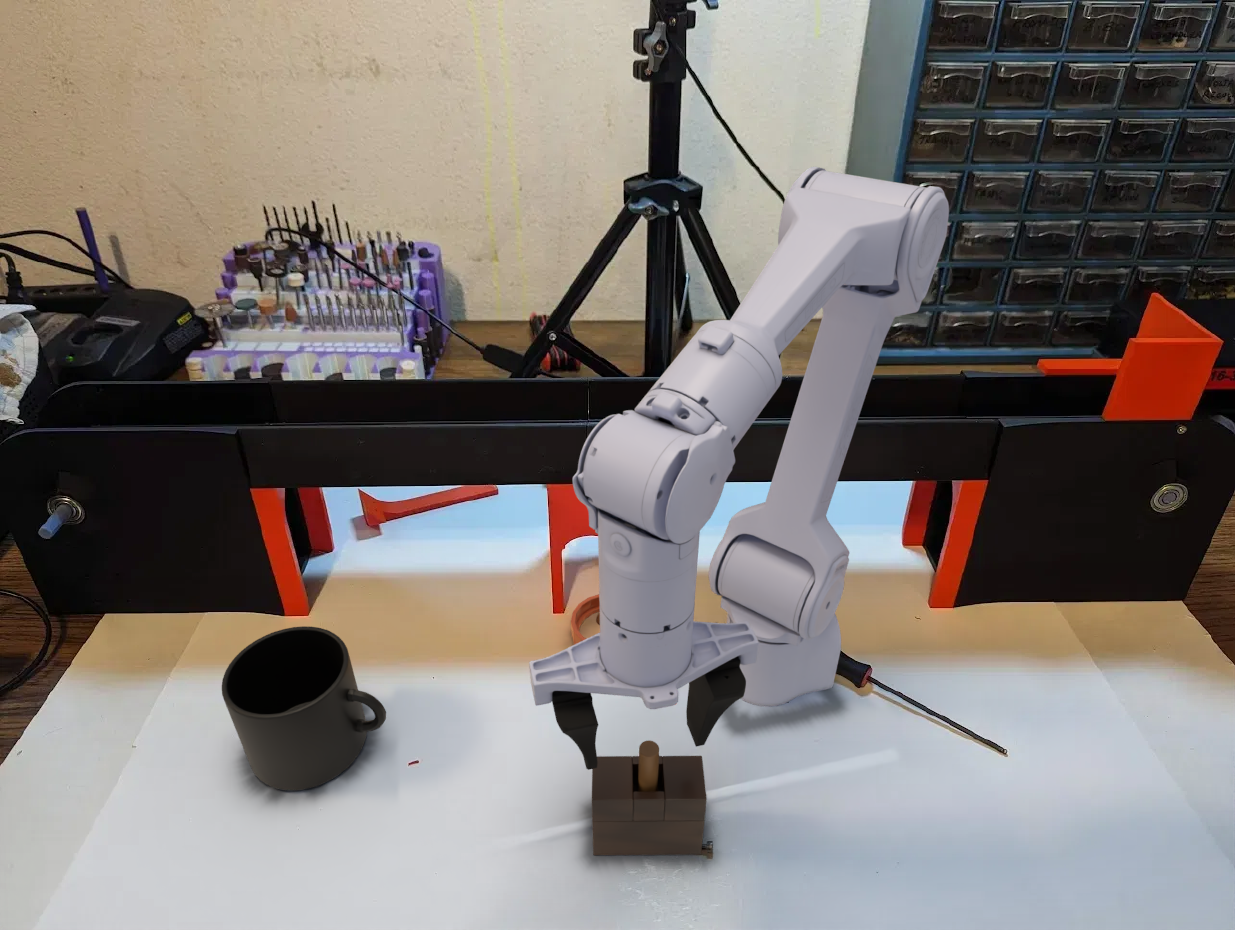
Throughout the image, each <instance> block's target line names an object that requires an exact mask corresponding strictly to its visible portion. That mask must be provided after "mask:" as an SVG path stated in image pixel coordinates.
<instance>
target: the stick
mask: <svg viewBox="0 0 1235 930" xmlns="http://www.w3.org/2000/svg"><path fill="white" fill-rule="evenodd" d="M638 756H639V773H638V792H641V791H657V790H658V767H659V756H660V746H659V744H658V743H656V741H654V740H649V739H648V740H644V741H642V742H641V743H640V744H639V746H638Z"/></svg>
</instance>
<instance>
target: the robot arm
mask: <svg viewBox="0 0 1235 930" xmlns="http://www.w3.org/2000/svg"><path fill="white" fill-rule="evenodd" d="M949 215H950V205H949V201H948V199H947V196H946V193H945V191H944V190H943V188H942V187H940V186H933V185H932V186H931V185H929V186H927V187H925V186H920V185H915V184H914V185H913V184H907V183H902V182H895V181H892V180H891V181H890V180H885V179H879V178H872V177H867V176H859V175H855V174H854V175H853V174H847V173H842V172H836V171H831V170H826V169H825V168H823V167H819V166H810V167H808V168H806V169H805V170H804V171H803V172H802V173H800V175H799V176H798V177H797V178H796V179H795V180H794V182H793V183H792V184H791V186H790V188H789V190H788V192H787V194H786V196H785V198H784V202H783V205H782V209H781V214H780V220H779V226H778V234H777V235H778V236H777V246H776V248H775V250H774V251H773V253H772V254H771V255H770V257H769V258H768V261H767V262H766V264H765V265H764V267H763V268H762V269H761V271H760V273H759V274H758V276H757V277H756V279H755V281H754V282H753V283H752V285H751V287H750V289H749V290H748V291H747V293H746V295H744V297H743V299H742V301H741V302H740V304H739V305H738V307H737V308H736V310H735V311H734V313H733V315H732V316H731V318H730V319H714V320H711V321H707V322H706V323H704V324H703V325H701V326H700V328H699V329H698V330H697V331H696V332H695V334H694V335H693V336H692V337H691V339H690V340H689V341H688V342H687V343H686V345H685V346H684V347H683V348H682V349H681V351H680V352H679V353H678V355H677V356H676V357H675V358H674V360H673V361H672V362H671V363H670V365H669V366H668V367H667V368H666V369H665V370H664V372H662V374H661V376H660V377H659V378H658V379H657V380H656V382H655V383H654V384H653V385H652V387H651V388H650V389H649V390H648V391H647V393H646V394H645V395H644V397H643V398H642V399H641V401H639V402H638V404H637V405H636V406H635V407H634V410H633V409H628V410H623V411H622V414H621V413H616V414H610V415H608V416H605V418H603V419H601V420H599V422H598V423H597V424H596V425H595V426H594V427H593V429H592V430H591V431H590V433H589V434H588V436H587V438H586V439H585V442H584V443H583V446H582V448H581V451H580V455H579V457H578V458H579V459H578V462H577V463H578V464H577V470H576V473H575V474H574V475H573V476H572V486H573V492H574V494H575V497H576V498H577V499H578V501H579V502H580V503H582V504H583V505H584V506H585V507H586V509H587V513H588V526H589V528H591V529H592V530H594V533H595V534H597V546H598V547H597V549H598V555H597V556H598V594H599V601H600V612H599V613H600V625H599V632H598V633H595V634H594V635H591V636H590V637H586V638H587V639H585V640H583V641H581V642H579V643H577V644H573V645H570V646H569V647H567V648H564V649H563V650H560V651H558V652H555V653H554V654H551V655H548V656H546V657H543V658H538V659H534V660H531V661H529V662H528V666H529V678H530V686H531V691H532V695H533V700H534V705H535V706H543V705H549V704H552V707H553V708H552V709H553V712H554V716H555V721H556V724H557V725H558V727H559V729H560V730H561V732H562V733H563V735H566V736H567V737H569V738H570V739H571V740H572V741H573V742H574V744H576V746H577V747H578V749H579V751H580V753H581V755H582V757H583V760H584V765H585V769H586V770H588V771H589V770H592V769H595V768H597V764H598V761H597V756H598V754H597V747H596V741H597V731H598V727H599V722H598V721H599V720H598V718H597V714H596V710H595V707H594V703H593V696H592V694H595V695H596V694H598V695H609V696H620V697H630V698H631V697H632V698H639V699H640V698H641V699H642V701H643V705H644V706H645V707H646V708H647V709H649V710H658V709H659V710H660V709H663V708H668V707H672V706H673V707H674V706H676V705H677V703H678V702H679V696H680V695H679V694H680V693H679V689H680V688H682V687H684V686H686V685H688V692H687V700H686V709H685V710H686V711H685V713H686V717H685V718H686V725H687V728H688V731H689V733H690V736H691V738H692V740H693V744H694V746H695V747H696V748H697V747H701V746H705V744H706V742H707V741H708V738H709V736H710V734H711V733H712V731H713V729H714V727H715V726H716V724H717V722H718V721H719V719H720V718H721V716H722V715H723V714H724V713H725V712H726V711H727V710H728V709H729V708H730V707H731V706H732V705H734V703H736V702H738V701H739V700H742V701H744V702H745V703H748V704H750V705H754V706H759V707H778V706H782V705H784V704H787V703H789V702H791V701H793V700H794V699H796V698H798V697H800V696H801V697H802V696H804V695H807V694H811V693H815V692H821V691H825V690H829V689H832V688H834V683H835V679H836V674H837V669H838V664H839V660H840V654H841V652H842V651H841V650H842V635H841V627H840V624H839V620H838V617H837V615H836V612H837V610H838V608H839V605H840V602H841V600H842V597H843V593H844V589H845V577H846V573H847V569H848V565H849V562H850V557H849V556H850V550H849V548H848V546H847V545H846V544H845V542H844V541H843V539H842V538H841V537H840V536H839V534H838V533H837V530H835V528H834V527H833V526H832V524H831V523H830V521H829V519H828V516H827V514H828V511H829V508H830V505H831V501H832V499H833V495H834V492H835V489H836V487H837V483H838V481H839V477H840V475H841V473H842V472H841V471H842V470H843V469H842V468H843V465H844V461H845V460H846V457H847V453H848V450H849V448H850V444H851V442H852V438H853V436H854V433H855V429H856V427H857V423H858V420H859V417H860V414H861V411H862V408H863V405H864V402H865V399H866V395H867V393H868V390H869V387H870V384H871V381H872V379H873V375H874V372H875V370H876V366H877V363H878V360H879V357H880V354H881V350H882V348H883V346H884V345H883V344H884V342H885V340H886V338H887V335H888V333H889V331H890V329H891V326H892V325H893V323H894V320H895V318H896V317H900V316H905V315H911V314H915V313H918V312H919V310H920V307H921V305H922V302H923V300H924V299H925V298H926V297H927V294H928V291H929V289H930V285H931V283H932V280H933V277H934V274H935V271H936V268H937V265H938V262H939V259H940V257H941V253H942V250H943V247H944V244H945V242H946V238H947V232H948V223H949ZM821 309H822V318H821V321H820V324H819V327H818V331H817V333H816V337H815V340H814V343H813V346H812V350H811V352H810V356H809V360H808V363H807V365H806V369H805V373H804V376H803V379H802V381H801V385H800V388H799V391H798V396H797V398H796V402H795V405H794V408H793V411H792V415H791V417H790V421H789V423H788V428H787V431H786V434H785V437H784V441H783V444H782V447H781V450H780V454H779V457H778V459H777V463H776V466H775V470H774V473H773V475H772V479H771V483H770V486H769V488H768V492H767V496H766V499H765V501H764V502H761V503H757V504H754V505H751V506H748V507H745V508H743V509H741V510H739V511H738V512H736V513H735V514H734V515H733V516H731V518H730V520H729V521H728V524H727V526H726V529H725V532H724V533H723V536H722V538H721V540H720V541H719V543H718V545H717V547H716V548H715V549H714V552H713V555H712V556H711V557H712V558H711V559H710V563H709V567H708V581H709V588H710V590H711V592H712V593H713V594H714V595H717V596H720V609H723V611H725V612H726V613H727V614H726V622H711V621H710V622H709V621H699V620H698V621H697V620H694V618H695V605H696V588H697V575H698V561H699V549H700V548H699V547H700V535H701V530H703V528H704V527H705V525H706V524H707V523H708V522H709V521H710V519H711V518H712V516H713V514H714V513H715V511H716V508H717V506H718V504H719V502H720V500H721V496H722V494H723V491H724V488H725V484H726V482H727V480H728V477H729V476H730V474H731V472H733V467H734V465H736V457H735V451H734V450H735V448H736V447H737V446H738V444H739V443H740V441H741V440H742V439H743V437H744V436H745V435H746V433H747V432H748V430H749V429H750V428H751V426H752V425H753V423H754V422H755V421H756V420H757V418H758V417H759V415H760V414H761V412H762V411H763V409H764V408H765V407H766V406H767V404H768V403H769V401H770V400H771V399H772V398H773V396H774V395H775V394H776V392H777V390H778V389H779V388H780V386H781V384H782V381H783V368H782V363H781V358H780V355H781V354H782V353H783V351H784V350H785V349H786V348H787V347H788V346H789V345H790V344H791V342H792V341H793V340H794V339H795V338H796V337H797V336H798V335H799V334H800V332H801V331H802V330H803V329H804V328H806V326H807V325H808V324H809V323H810V321H811V320H812V319H813V318H814V317H815V316H816V315H817V314H818V313H819V312H820V311H821Z"/></svg>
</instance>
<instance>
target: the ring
mask: <svg viewBox="0 0 1235 930" xmlns="http://www.w3.org/2000/svg"><path fill="white" fill-rule="evenodd" d="M599 613H600V601H599V593H597V594H594V595H592V596H589V597H587V598H585V599H584V600H582V601H581V602H579V603H578V604H577V605H576V607H575V608H574V610H573V611H572V613H571V619H570V633H571V638H572V642H573V645H575V644H577V643H579V642H581V641H583V640H585V639H587V638H588V637H585V636H584V635H583V634H582V633H581V632H580V630H581V626H582V624H583V623H584V622H585V620H586V619H587V618H589V617H591V616H592V615H594V614H599Z"/></svg>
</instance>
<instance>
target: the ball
mask: <svg viewBox="0 0 1235 930" xmlns="http://www.w3.org/2000/svg"><path fill="white" fill-rule="evenodd" d="M595 620H596V623H597V625H598V626H600V612H598V613H597V615H596V619H595Z"/></svg>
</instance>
